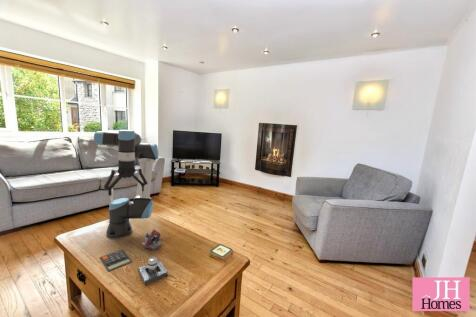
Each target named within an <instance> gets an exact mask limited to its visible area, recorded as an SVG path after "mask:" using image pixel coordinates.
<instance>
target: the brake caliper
mask: <svg viewBox="0 0 476 317" xmlns="http://www.w3.org/2000/svg"><path fill="white" fill-rule="evenodd" d="M143 236H144V239H145V240H144V241H145V242H141V245H143V246H144V247H145V248H146V249H147V250H157V249H158V248H159V247H161V246H162V244H163V243H162V241H163V239H162V238H161V233H160V232H158V231H157V230H156V229H152V231H151V232H150V233H149V232H145V233H144V234H143Z"/></svg>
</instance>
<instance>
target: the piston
mask: <svg viewBox="0 0 476 317" xmlns="http://www.w3.org/2000/svg"><path fill="white" fill-rule="evenodd" d="M158 261H159V260H158V257H157V256H150V257H148V259H147V265H148V271H147V274H148V276H149V275H152V274H155V273H157V272H158V268H157V263H158Z"/></svg>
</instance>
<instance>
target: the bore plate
mask: <svg viewBox="0 0 476 317" xmlns="http://www.w3.org/2000/svg"><path fill="white" fill-rule="evenodd" d="M137 269H138V270H137V271H138V274H139V276H140V277H141V280H142V282H143V284H144V285H147V284H150V283H152V282H155V281H157V280H160V279H162V278H164V277H167V276H168V270H167V268H166V267H165V265H164V264H163V263H162V261H161V260H158V263H157V273H155V274H152V275H149V276H148V264H145V265H142V266H139V267H138V268H137Z"/></svg>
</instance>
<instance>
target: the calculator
mask: <svg viewBox="0 0 476 317" xmlns="http://www.w3.org/2000/svg"><path fill="white" fill-rule="evenodd" d="M99 260H100V261H101V262H102V264H103V265H104V267H105V269H106V270H107V272H112V271H114V270H116V269H119V268H121V267H123V266H126V265H128V264H131V263H133V260H132V259H131V257H130V256H129V255H128V254H127V252H125V250H123V248H121V249H119V250H115V251H113V252H111V253H108V254H104V255H101V256H100V257H99Z"/></svg>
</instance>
